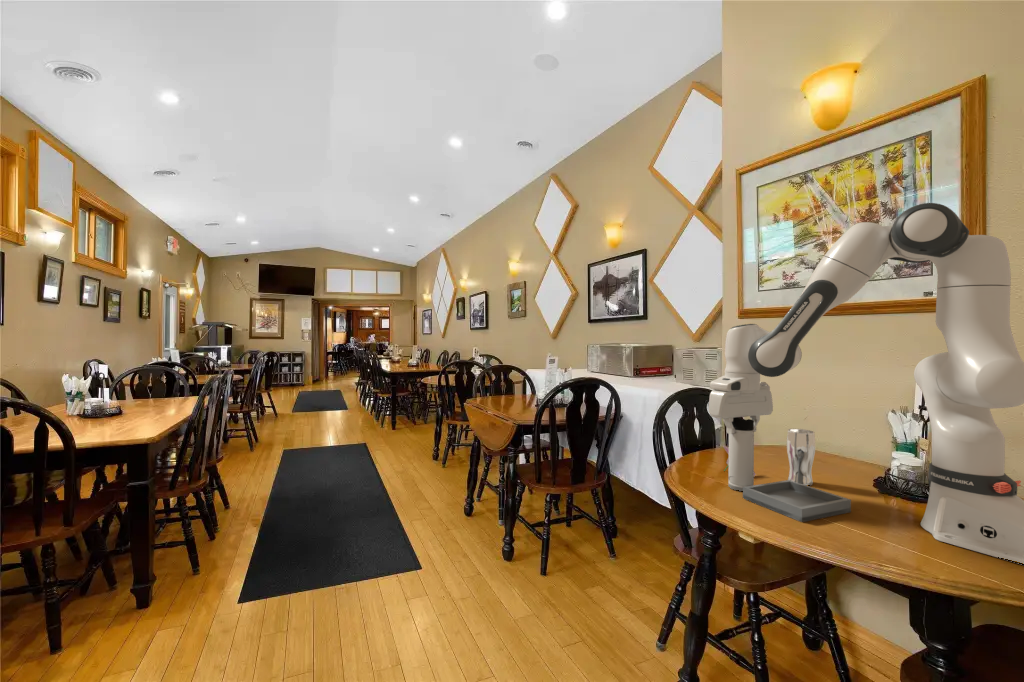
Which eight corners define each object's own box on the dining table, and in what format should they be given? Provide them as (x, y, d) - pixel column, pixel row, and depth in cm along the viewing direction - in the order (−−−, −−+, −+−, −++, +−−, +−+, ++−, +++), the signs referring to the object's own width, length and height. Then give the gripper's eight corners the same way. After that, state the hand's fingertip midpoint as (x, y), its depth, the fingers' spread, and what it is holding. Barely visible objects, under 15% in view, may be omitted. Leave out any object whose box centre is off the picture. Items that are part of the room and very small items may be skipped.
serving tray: (850, 512, 110) (850, 499, 109) (801, 522, 103) (801, 509, 103) (788, 490, 124) (788, 479, 124) (742, 498, 118) (742, 487, 118)
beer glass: (820, 486, 128) (821, 433, 128) (795, 486, 128) (796, 433, 128) (804, 478, 135) (805, 428, 135) (781, 478, 135) (781, 428, 135)
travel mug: (724, 488, 126) (724, 416, 126) (733, 483, 131) (733, 413, 130) (748, 494, 121) (749, 419, 121) (756, 488, 126) (757, 416, 126)
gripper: (759, 380, 132) (758, 427, 133) (705, 382, 125) (704, 432, 125) (779, 382, 126) (778, 432, 127) (723, 385, 119) (722, 437, 119)
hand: (741, 432), depth 126 cm, fingers closed on travel mug, 6 cm apart
